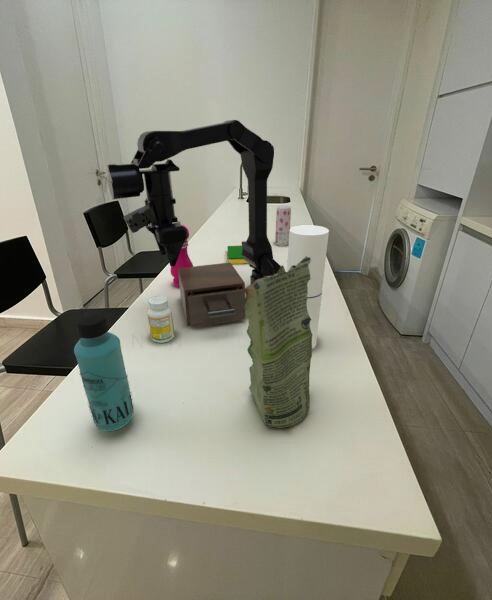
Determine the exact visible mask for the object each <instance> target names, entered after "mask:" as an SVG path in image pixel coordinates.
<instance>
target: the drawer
mask: <svg viewBox="0 0 492 600" xmlns="http://www.w3.org/2000/svg"><path fill="white" fill-rule="evenodd" d="M245 298H246V293H245V290H244V288H243V289H239V287H232V288H224V289H216V290H208V291H200V292H192V293H188V306H189V317H190V326H189V327H190V328H195V327H202V326H207V325H215V324H223V323H228V322H235V321H241V320H246V315H245V313H246V307H245V305H244V301H245Z"/></svg>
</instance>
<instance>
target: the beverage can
mask: <svg viewBox="0 0 492 600" xmlns="http://www.w3.org/2000/svg"><path fill="white" fill-rule="evenodd" d="M291 216H292V207H291V205H277V207H276V216H275V218H276V220H275V236H274V237H275V239H274V243H275V244H276V246H278V247H279V246H280V247H285V246H289V230H290V228H291V218H292V217H291Z"/></svg>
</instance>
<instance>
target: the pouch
mask: <svg viewBox="0 0 492 600" xmlns="http://www.w3.org/2000/svg"><path fill="white" fill-rule="evenodd" d="M310 261H311V258H310V257H309V258H308V257H307V256H306V257H305V258H304V259H302V260H301V261H300V262H299V263H298V264H297V265H293V266H291V268H290V269H289V271H288V272H287V270H286V269H285V266H284V265H282V264H281V265H280V266H281V268H280V269H279V271H278V272H277V273H276V274H275V275H274V276H264V277H263V278H260V279H257V280H255V282H253V284H251V285H250V284H249V286H247V287H245V301H244V305H245V318H246V319H247V321H248V328H247V329H246V334H247V336H248V338H249V340H250V341H249V342H250V344H249V346H248V348H247V353H248V355H249V357H250V358H251V360H252V361H251V362H252V364H251V365H250V366H249V375H250V378H249V379H250V385H249V387H248V389H249V391H250V393H251V395H252V397H253V400H254V402H255V404H256V408H257V409H258V411H259V412H260V416H261V418H262V421H263V423H264V424H265V426H266V427H267V428H277V429H283V428H287V427H291V426H295V425H296V424H298V423H300V422H301V421H302V420H304V417H306V416H307V414H308V412H309V410H310V401H311V399H310V374H311V373H310V372H311V362H312V361H311V360H312V357H313V349H312V333H311V329H310V321H311V318H310V316H309V314H308V311H307V294H308V292H307V291H308V287H307V284H308V281H309V280H310V271H309V267H308V266H309V263H310Z"/></svg>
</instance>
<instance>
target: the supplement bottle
mask: <svg viewBox="0 0 492 600" xmlns="http://www.w3.org/2000/svg"><path fill="white" fill-rule="evenodd" d="M148 306H149V308H148V309H147V319H148V326H149V331H150V338H151V340H152V341H153V342H154V343H158V344H163V343H167V342H169V341H171V340H173V339H174V338H175V329H174V319H173V309H172V307H171V306H170V305H169V302H168V298H167V297H166V296H163V295H157V296H152V297H151V298H149V300H148Z"/></svg>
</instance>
